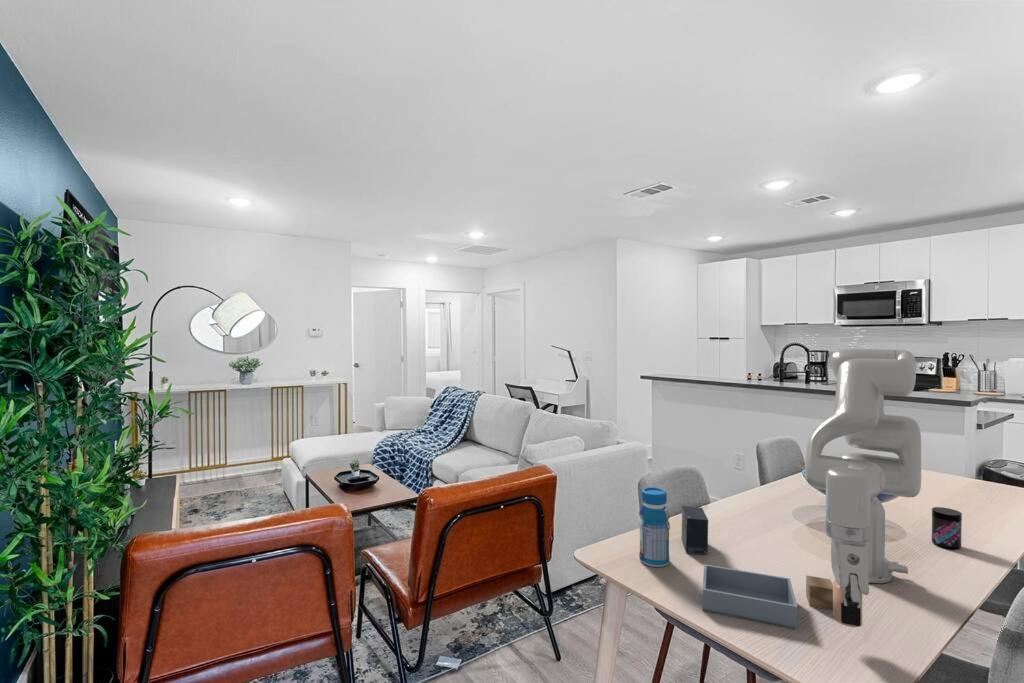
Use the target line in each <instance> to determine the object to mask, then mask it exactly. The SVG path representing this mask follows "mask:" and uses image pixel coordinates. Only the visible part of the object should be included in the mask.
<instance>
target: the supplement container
mask: <svg viewBox="0 0 1024 683" xmlns="http://www.w3.org/2000/svg"><path fill="white" fill-rule="evenodd" d="M962 522H963V513H962V512H961V511H959V510H957V509H953V508H949V507H941V506H940V507H939V506H934V507H932V508H931V543H932V544H933V545H935V546H936V547H939V548H940V549H945V550H949V551H958V550H960V549H961V548H962V526H963V525H962Z"/></svg>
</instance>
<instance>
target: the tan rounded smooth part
mask: <svg viewBox="0 0 1024 683" xmlns="http://www.w3.org/2000/svg"><path fill="white" fill-rule="evenodd" d="M832 584H833V610H832V618H833V619H834V621H836V622H837V623H839V624H840V625H843V626H845V627H850V628H859V627H862V625H863V593H862V591H861V589H860V587H859V591H860V607H861V625H860V626H854V625H849V624H844V623H842V621H841V603H843V595H842V590H841V589H840V588H839V586H838V583H837V581H836V580H834V581H833V582H832ZM845 588H846V589H850V587H849V586H847V587H845ZM850 596H851V593H847V598H848V597H850Z"/></svg>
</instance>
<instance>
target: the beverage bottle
mask: <svg viewBox="0 0 1024 683" xmlns="http://www.w3.org/2000/svg"><path fill="white" fill-rule="evenodd" d="M667 498H668V497H667V491H666V490H665V489H663V488H660V487H653V486H651V487H644V488H643V489H641V502H642V503H643V504H642V505H641V507H640V508H639V511H638V514H639V517H640V518H639V520H638V527H639V553H638V554H639V557H638V558H639V560H640V562H641V563H643V564H644V565H645V566H649V567H653V568H654V567H655V568H663V567H666V566H667V565H669V563H670V528H671V524H670V521H669V519H670V513H669V510H668V508H667V507H666V504H667V502H668V501H667Z"/></svg>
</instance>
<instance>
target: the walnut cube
mask: <svg viewBox="0 0 1024 683" xmlns="http://www.w3.org/2000/svg"><path fill="white" fill-rule="evenodd" d="M805 578H806V579H805V587H806V588H805V589H806V590H805V591H806V592H805V594H806V596H805V597H806V600H807V603H808V606H809V607H813V608H820V609H825V610H829V609H830V611H833V582H832V580H831V579H830V578H825V577H819V576H813V575H806V576H805Z"/></svg>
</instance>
